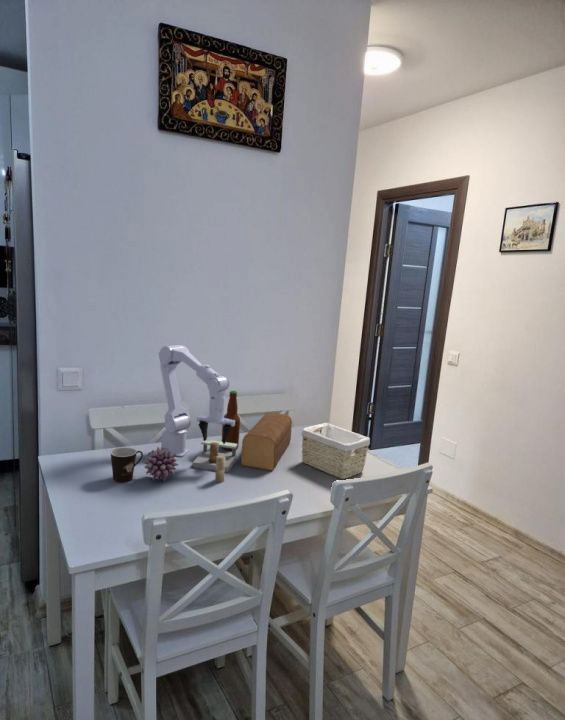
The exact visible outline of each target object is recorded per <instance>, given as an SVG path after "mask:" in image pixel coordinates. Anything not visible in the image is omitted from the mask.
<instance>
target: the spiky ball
mask: <svg viewBox="0 0 565 720" xmlns="http://www.w3.org/2000/svg"><path fill="white" fill-rule="evenodd" d="M168 449H169V448H167V449H166V450H164V449H163V448H161V447H159V446H156V450H154V449H152V450H151V452H150V451H148V455H149V456H146V455H145V458H146V459H147V460H143V464H145V466H144V469H147V471H146V472H145V474H146V475H147V474H149V476H152V480H155V479H158V480H161V479H162V481H166V477H170V476H171V475H172V476H174V475H175V472H174V471H176V470H177V468H176V467H178V466H179V463H176V462H177V459H176V458H175V457H177V456H176V454H172V452H171V453H170V451H168Z"/></svg>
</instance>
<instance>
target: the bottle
mask: <svg viewBox="0 0 565 720" xmlns="http://www.w3.org/2000/svg"><path fill="white" fill-rule="evenodd" d="M228 396H229V397H228V398H229V399H228V402H227V408H226V410H227V411H226V413H225V414H224V418H227V419H231V420H235V426H234V427H233V426H232V428H231V429H230V431H229V433H228V436H227V439H226V442H228V443H235V444H238V446H237V447H236V450H238V448H239V444H240V442H239V441H240V428H241V418H240V416H239V414H238V409H239V408H238V406H239V405H238V399H237V397H238V392H237V391H236V390H230V391H229V395H228ZM224 426H225V425H223V424H222V430H221V442H223V427H224ZM221 448H222V449H223V450H225V451H232V448H226V447H221Z"/></svg>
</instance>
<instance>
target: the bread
mask: <svg viewBox="0 0 565 720" xmlns="http://www.w3.org/2000/svg"><path fill="white" fill-rule="evenodd" d="M292 425H293V420H292V417H290V415H288V414H286V413H285V414H284V413H280V412H279V413H278V412H267V413H265V414H264V415H263V416H262V417H261V418H260V419H259V420H258V421H257V422H256V423H255V425H253V426H252V428H251V429H250V430H248V432H247V433H246V434H245V435H244V436H243V438H242V441H241V443H242V444H241V452H240V453H241V454H240V465H241V466H244V467H247V466H248V467H249V468H253V469H259V470H266V471H274V470H275V468H276V466H277V465H278V463H279V461H280V460H281V459H282V456H284V454H285V452H286V450H287V449H288V447H289V445H290V443H291V440H292Z"/></svg>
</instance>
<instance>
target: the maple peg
mask: <svg viewBox="0 0 565 720" xmlns="http://www.w3.org/2000/svg"><path fill="white" fill-rule="evenodd" d="M225 459H226V457H225V456H222V455H219V456H217V459H216V471H215V479H214V481H215V482H216V483H224V482H225V475H226V474H225V473H226V472H225Z"/></svg>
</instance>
